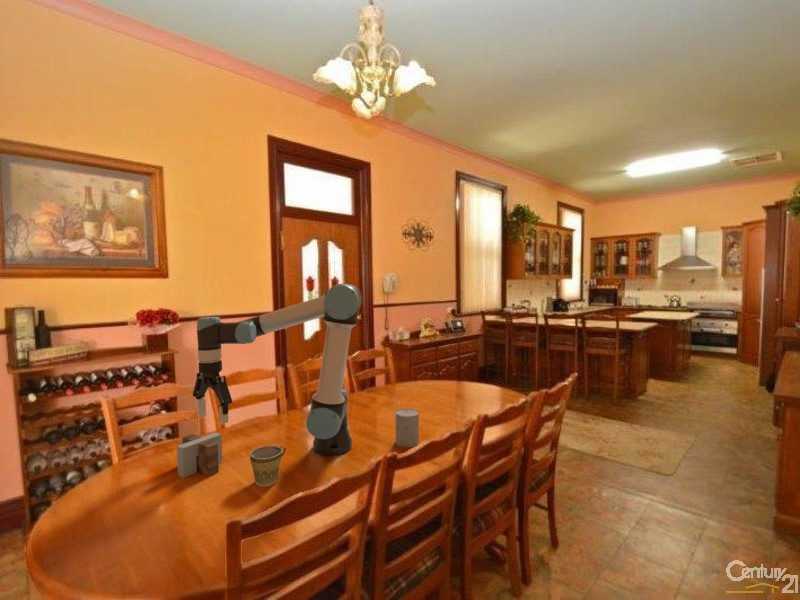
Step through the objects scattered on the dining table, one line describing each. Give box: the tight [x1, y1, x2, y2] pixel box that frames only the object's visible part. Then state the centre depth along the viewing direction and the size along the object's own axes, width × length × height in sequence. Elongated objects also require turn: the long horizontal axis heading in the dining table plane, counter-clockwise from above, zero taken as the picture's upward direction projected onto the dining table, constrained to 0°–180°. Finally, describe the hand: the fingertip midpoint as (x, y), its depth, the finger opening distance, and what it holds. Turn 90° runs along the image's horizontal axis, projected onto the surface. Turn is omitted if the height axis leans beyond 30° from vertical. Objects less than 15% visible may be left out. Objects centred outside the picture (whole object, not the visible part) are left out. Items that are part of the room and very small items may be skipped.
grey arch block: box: [176, 432, 223, 479], centre depth 139 cm, size 4×14×10 cm, turn 147°
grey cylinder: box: [395, 408, 420, 448], centre depth 161 cm, size 10×10×12 cm
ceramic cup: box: [249, 445, 287, 488], centre depth 131 cm, size 13×10×10 cm
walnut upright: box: [181, 433, 220, 477], centre depth 139 cm, size 16×4×10 cm, turn 57°
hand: (212, 419), depth 143 cm, fingers open, 13 cm apart
